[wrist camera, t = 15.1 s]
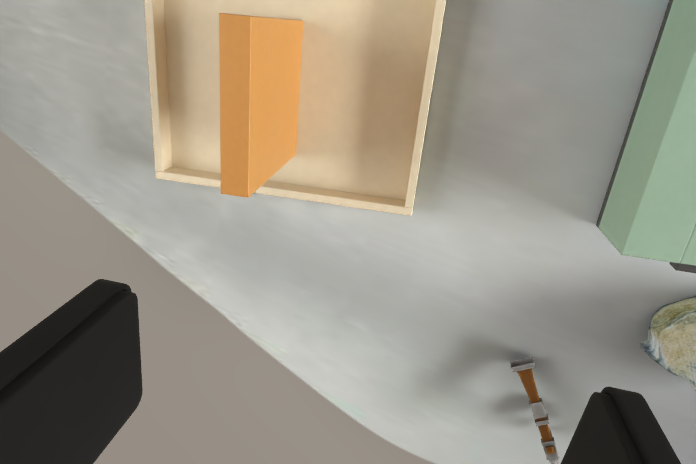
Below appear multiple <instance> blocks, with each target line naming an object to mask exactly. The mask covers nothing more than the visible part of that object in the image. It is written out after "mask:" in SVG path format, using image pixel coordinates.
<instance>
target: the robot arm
mask: <svg viewBox="0 0 696 464" xmlns="http://www.w3.org/2000/svg"><path fill="white" fill-rule="evenodd" d="M141 396H142V374H141V355H140V337H139V319H138V300H137V296H136V294H135V293H132V292H131V289H130V287H129V286H128V285H127V284H123V283H119V282H113V281H109V280H104V279H99V280H97V281H95V282H94V283H92V284H91V285H90V286H88V287H87V288H85V289H84V290H83V291H81V292H80V293H79V294H77V295H76V296H75V297H73V298H72V299H71V300H69V301H68V302H67V303H65V304H64V305H63V306H61V307H60V308H59V309H58V310H56V311H55V312H53V313H52V314H51V315H50V316H48V317H47V318H46V319H44V320H43V321H41V322H40V323H39V324H38V325H36V326H35V327H33V328H32V329H31V330H29V331H28V332H27V333H25V334H24V335H23V336H21V337H20V338H19V339H17V340H16V341H15V342H13V343H12V344H11V345H10V346H8V347H7V348H5V349H4V350H3V351H1V352H0V464H93V463H94V462H95V461H96V459H97V458H98V456H99V455H100V454H101V453H102V451H103V450H104V449H105V448H106V446H107V445H108V444H109V443H110V441H111V440H112V439H113V437H114V436H115V435H116V434H117V432H118V431H119V430H120V429H121V427H122V426H123V425H124V423H125V422H126V421H127V420H128V418H129V417H130V416H131V414H132V413H133V412H134V411H135V409H136V408H137V406H138V404H139V402H140V400H141ZM561 464H681V463H680V461H679V459H678V457H677V456H676V454H675V452H674V450H673V449H672V447H671V445H670V443H669V441H668V440H667V438H666V436H665V434H664V433H663V431H662V429H661V427H660V425H659V424H658V422H657V420H656V418H655V417H654V415H653V413H652V411H651V409H650V408H649V406H648V404H647V402H646V401H645V399H644V398H643V396H642V395H641V394H639V393H636V392H631V391H626V390H622V389H617V388H612V387H605V388H604V389H603V390H602V391H601V393H599V392H594V393H593V394H592V396H591V397H590V399H589V402H588V404H587V406H586V408H585V411H584V413H583V415H582V417H581V420H580V422H579V424H578V426H577V429H576V431H575V433H574V435H573V438H572V440H571V442H570V444H569V447H568V449H567V451H566V453H565V456H564V458H563V460H562V462H561Z"/></svg>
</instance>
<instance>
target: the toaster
mask: <svg viewBox="0 0 696 464" xmlns="http://www.w3.org/2000/svg"><path fill="white" fill-rule="evenodd" d="M596 226H597V227H598V228H599V229H600V230H601V231H602V233H603V234H604V235H605V236H606V237H607V238H608V240H609V241H610V242H611V243H612V244H613V245H614V247H615V248H616V249H617V250H618V251H619V253H620V254H621V255H627V256H633V257H640V258H647V259H653V260H660V261H667V262H670V265H671V266H672V267H673V268H674V269H675V270H678V271H685V272H692V273H696V0H669V3H668V7H667V10H666V13H665V16H664V19H663V22H662V25H661V28H660V31H659V34H658V37H657V40H656V43H655V46H654V49H653V52H652V56H651V59H650V62H649V65H648V68H647V71H646V74H645V77H644V80H643V83H642V86H641V89H640V92H639V95H638V98H637V101H636V105H635V108H634V111H633V114H632V117H631V120H630V123H629V126H628V129H627V132H626V135H625V138H624V141H623V144H622V147H621V150H620V154H619V157H618V160H617V163H616V166H615V169H614V172H613V175H612V178H611V181H610V184H609V187H608V190H607V193H606V196H605V199H604V203H603V206H602V209H601V212H600V215H599V218H598V221H597V224H596Z"/></svg>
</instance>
